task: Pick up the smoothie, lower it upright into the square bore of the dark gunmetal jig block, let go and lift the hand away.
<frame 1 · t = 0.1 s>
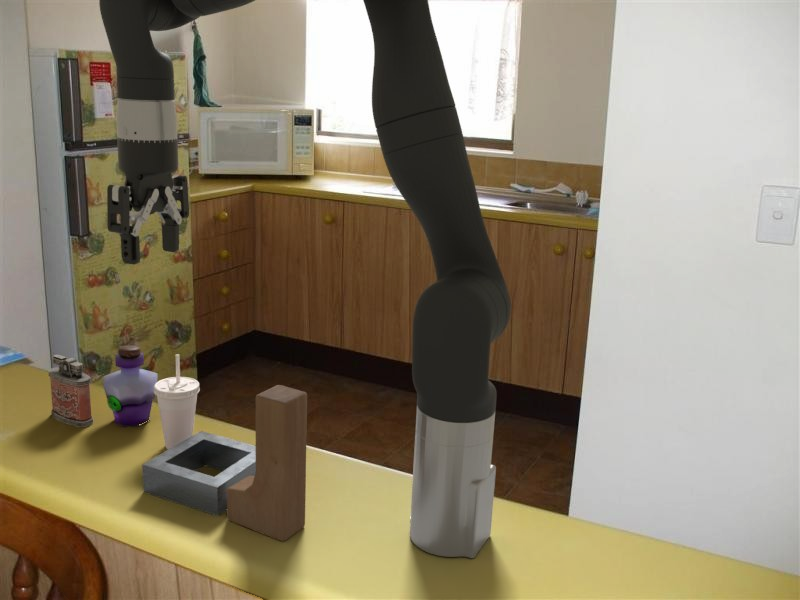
hand: (151, 257, 114), 29 cm above the countertop, tool pointing down, fingers open, 8 cm apart
lighter: (72, 420, 132), on the countertop
wooden block: (266, 525, 105), on the countertop
jig: (209, 484, 114), on the countertop
smoothie: (178, 447, 125), on the countertop
potion bottle: (132, 420, 132), on the countertop
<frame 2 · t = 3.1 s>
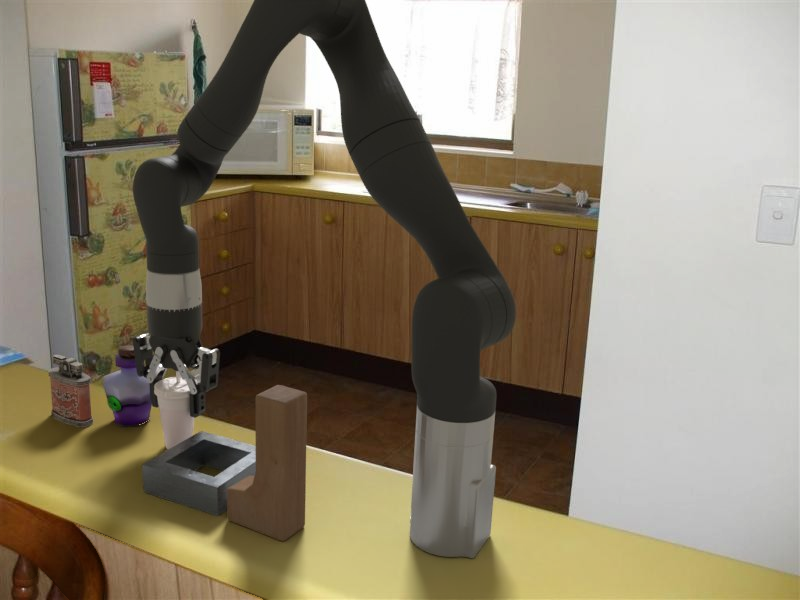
hand: (177, 410, 123), 6 cm above the countertop, tool pointing down, fingers closed on smoothie, 6 cm apart
smoothie: (178, 447, 125), on the countertop, touching gripper
everything else where it was.
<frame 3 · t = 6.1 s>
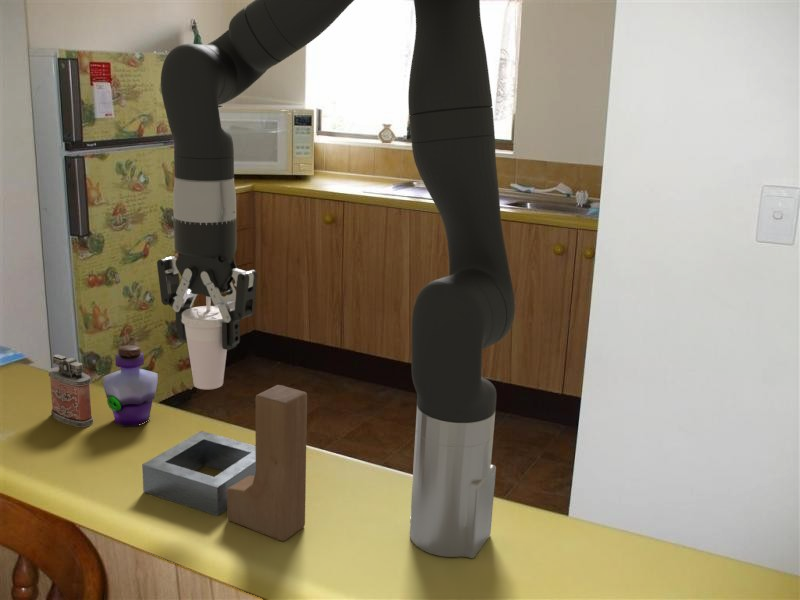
hand: (207, 342, 108), 20 cm above the countertop, tool pointing down, fingers closed on smoothie, 6 cm apart
smoothie: (208, 385, 110), point 14 cm above the countertop, touching gripper
everything else where it was.
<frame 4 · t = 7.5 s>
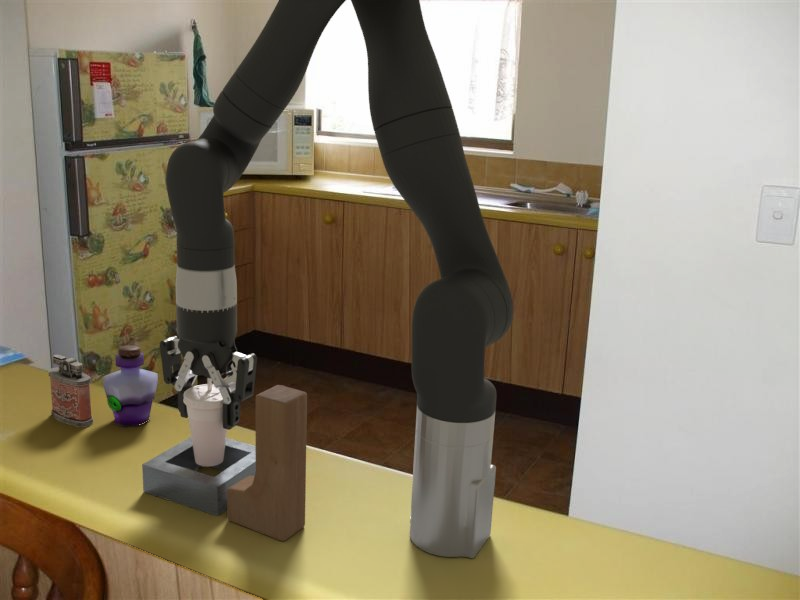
hand: (208, 420, 112), 9 cm above the countertop, tool pointing down, fingers closed on smoothie, 6 cm apart
smoothie: (209, 461, 113), point 3 cm above the countertop, touching gripper
everything else where it was.
when the fingers open (7 cm above the countertop, at t = 9.0 s): smoothie stays where it is, resting in jig.
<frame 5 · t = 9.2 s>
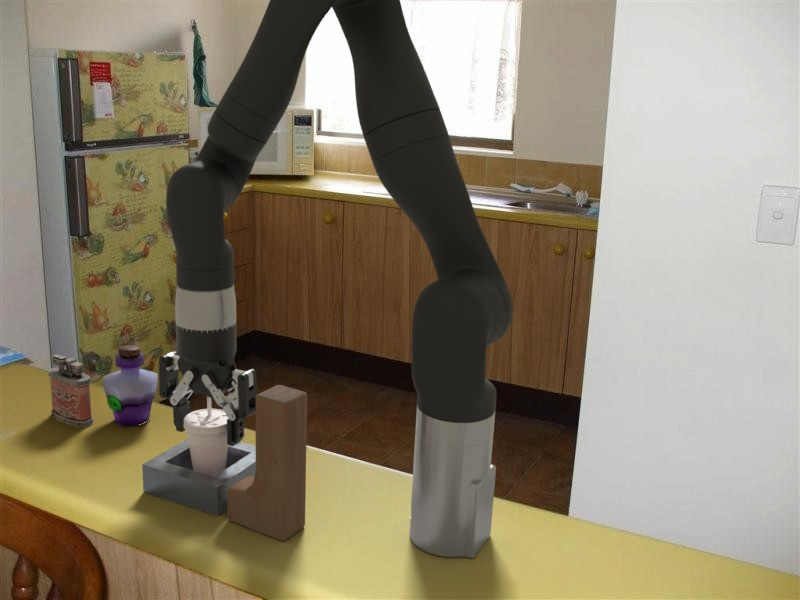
hand: (208, 436, 112), 7 cm above the countertop, tool pointing down, fingers open, 8 cm apart
smoothie: (209, 485, 114), resting in jig
everything else where it was.
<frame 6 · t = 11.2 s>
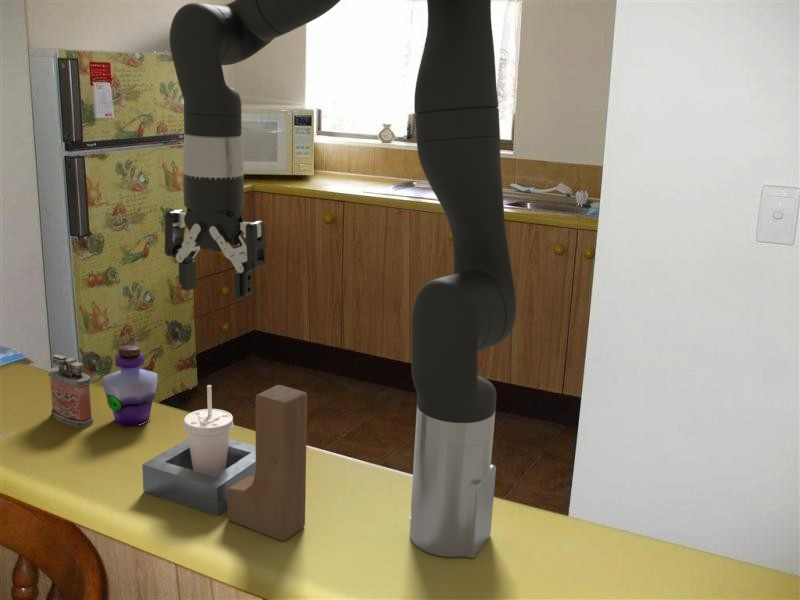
hand: (215, 293, 112), 25 cm above the countertop, tool pointing down, fingers open, 8 cm apart
nothing on the countertop moved.
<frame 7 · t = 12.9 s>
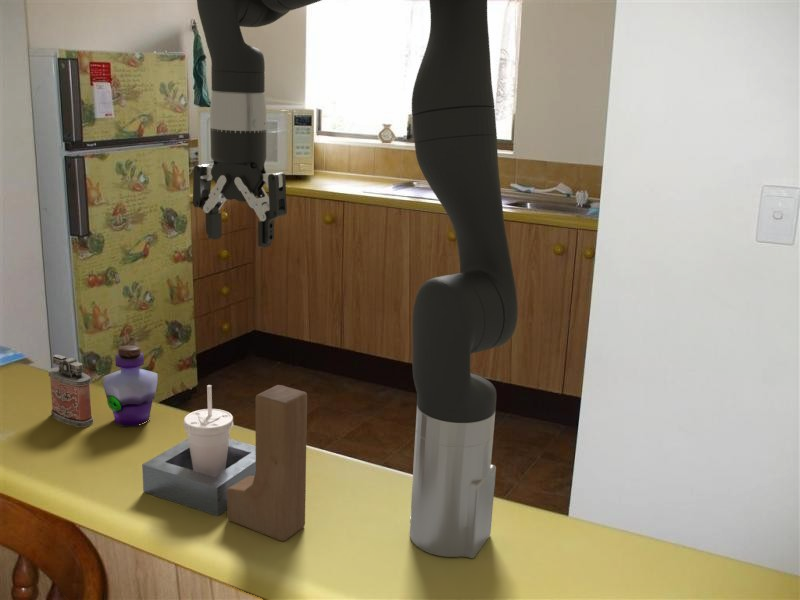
hand: (239, 242, 120), 30 cm above the countertop, tool pointing down, fingers open, 8 cm apart
nothing on the countertop moved.
at the end: smoothie 0.1 cm off-centre on the jig, point 0.0 cm above the jig's base; smoothie tilted 0°; the gripper is holding nothing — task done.
